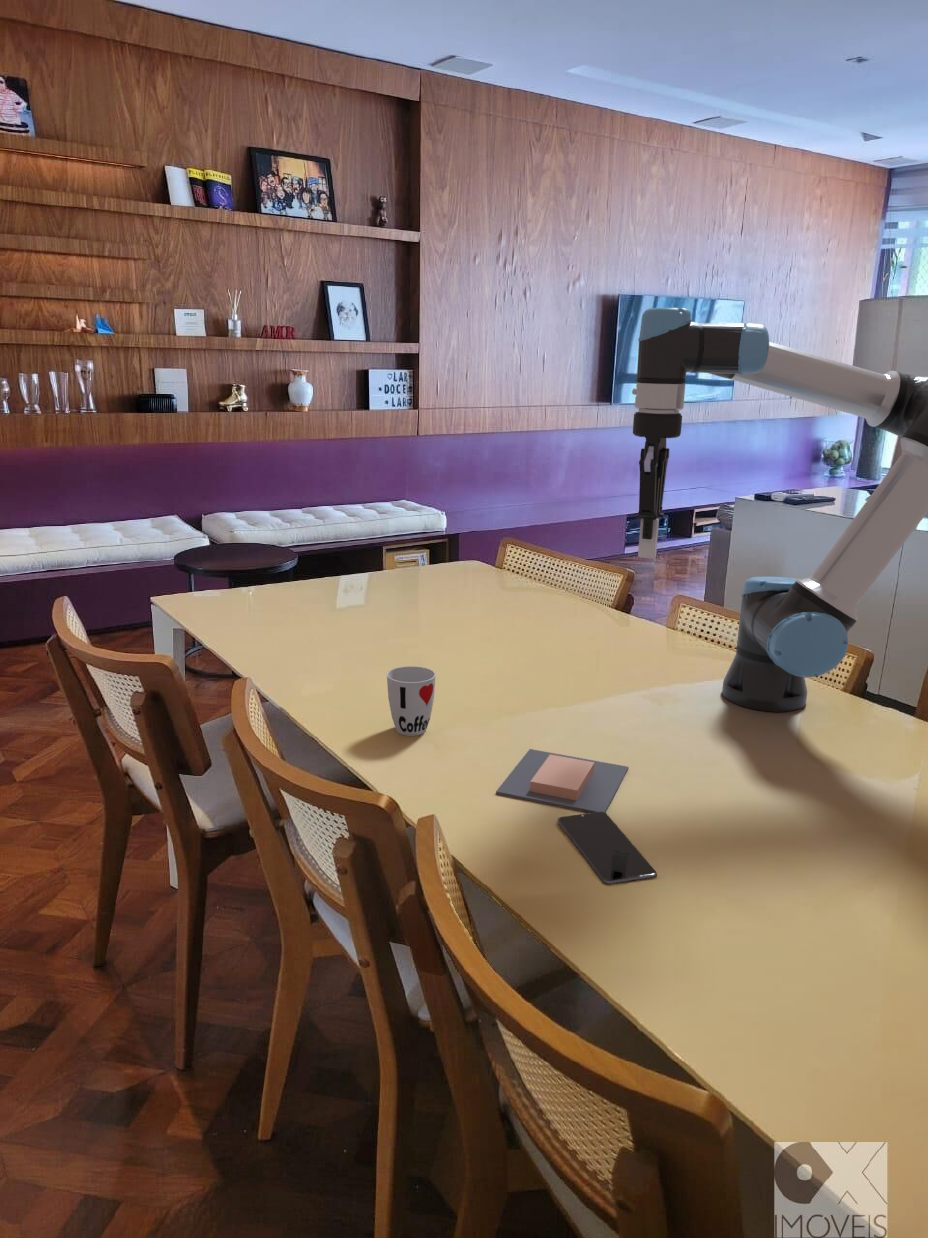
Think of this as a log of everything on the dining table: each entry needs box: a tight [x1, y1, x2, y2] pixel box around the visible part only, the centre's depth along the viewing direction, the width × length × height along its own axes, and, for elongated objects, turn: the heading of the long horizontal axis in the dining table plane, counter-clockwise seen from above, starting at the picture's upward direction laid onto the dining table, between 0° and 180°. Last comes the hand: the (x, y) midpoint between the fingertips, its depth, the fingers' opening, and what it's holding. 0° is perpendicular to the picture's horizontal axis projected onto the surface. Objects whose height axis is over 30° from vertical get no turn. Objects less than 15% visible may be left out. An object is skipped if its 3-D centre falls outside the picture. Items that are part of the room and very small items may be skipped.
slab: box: [530, 754, 594, 801], centre depth 135 cm, size 7×2×10 cm
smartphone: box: [557, 812, 658, 886], centre depth 118 cm, size 7×1×16 cm
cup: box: [386, 665, 437, 737], centre depth 152 cm, size 8×8×10 cm
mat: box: [495, 748, 630, 814], centre depth 136 cm, size 16×16×1 cm
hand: (646, 557), depth 150 cm, fingers closed
